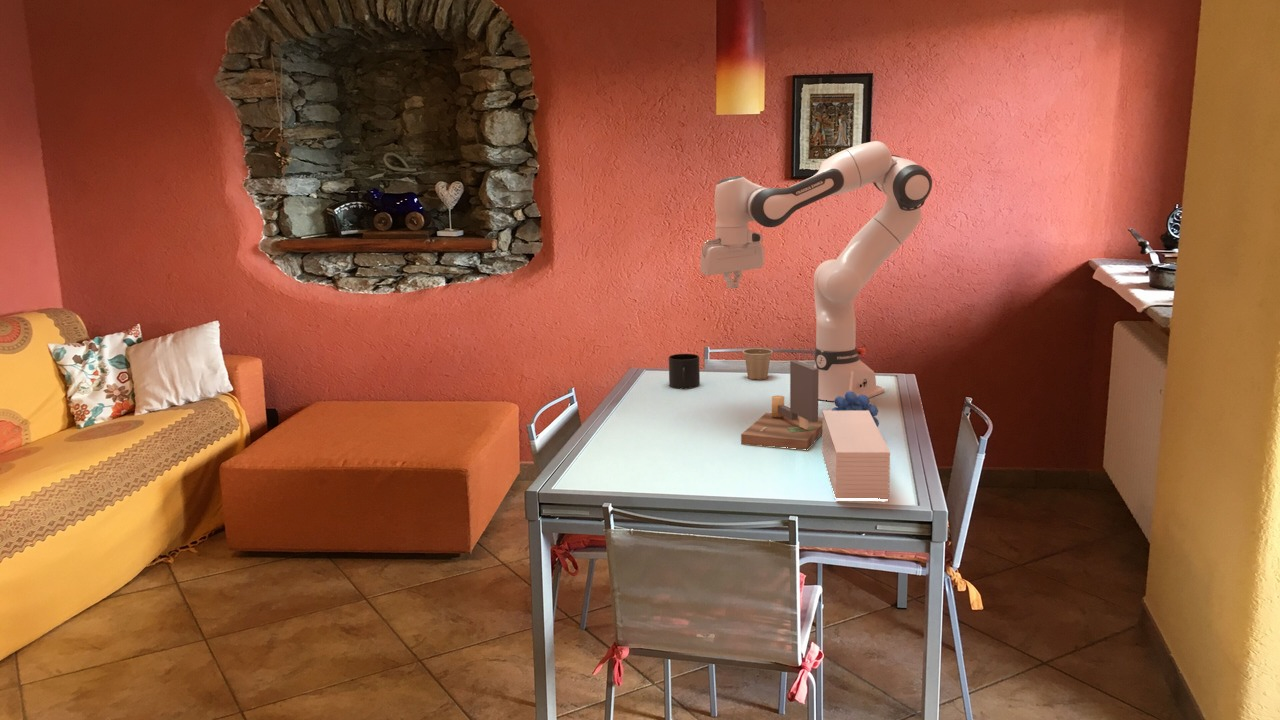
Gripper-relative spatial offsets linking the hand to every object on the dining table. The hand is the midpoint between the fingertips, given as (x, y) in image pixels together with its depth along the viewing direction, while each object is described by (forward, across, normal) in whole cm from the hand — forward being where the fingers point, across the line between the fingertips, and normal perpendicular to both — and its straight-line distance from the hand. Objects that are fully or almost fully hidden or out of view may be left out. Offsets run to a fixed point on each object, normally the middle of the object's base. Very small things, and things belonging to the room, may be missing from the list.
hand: (732, 288), depth 264 cm
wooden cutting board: (+34, -9, -29) cm, 45 cm away
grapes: (+34, +2, -42) cm, 55 cm away
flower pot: (+34, +29, +22) cm, 50 cm away
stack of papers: (+35, -19, -61) cm, 72 cm away
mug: (+34, +5, +29) cm, 45 cm away
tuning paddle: (+31, -7, -30) cm, 44 cm away
